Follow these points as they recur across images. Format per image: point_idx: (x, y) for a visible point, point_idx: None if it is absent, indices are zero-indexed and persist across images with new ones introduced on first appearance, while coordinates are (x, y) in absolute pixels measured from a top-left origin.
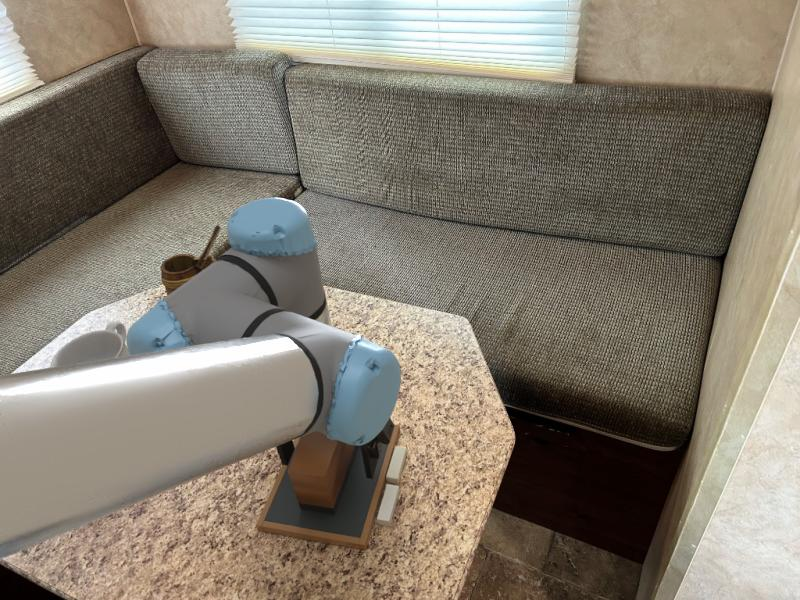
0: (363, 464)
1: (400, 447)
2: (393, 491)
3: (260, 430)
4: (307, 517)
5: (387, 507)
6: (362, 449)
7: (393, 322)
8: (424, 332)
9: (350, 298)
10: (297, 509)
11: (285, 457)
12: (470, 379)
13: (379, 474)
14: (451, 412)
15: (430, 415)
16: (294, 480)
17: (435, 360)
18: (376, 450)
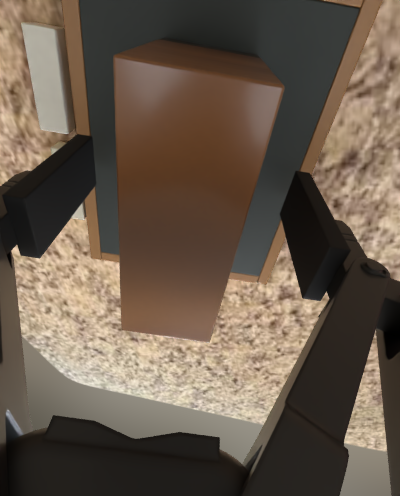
0: None
1: (72, 216)
2: (45, 114)
3: None
4: (235, 25)
5: (41, 67)
6: (29, 188)
7: (159, 388)
8: (114, 375)
9: (222, 415)
10: (265, 52)
11: (300, 186)
12: (24, 318)
13: None
14: (27, 274)
15: (57, 271)
16: (260, 72)
17: (85, 344)
18: (3, 188)
